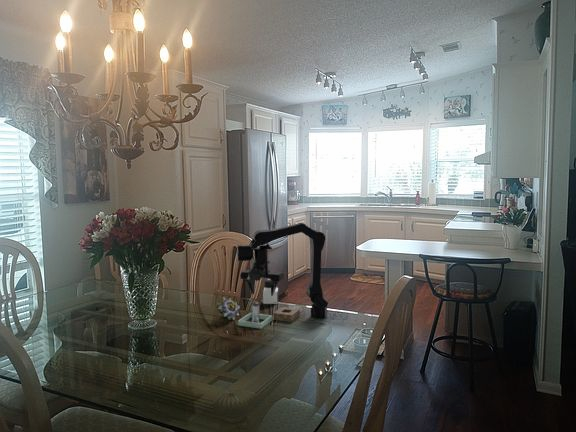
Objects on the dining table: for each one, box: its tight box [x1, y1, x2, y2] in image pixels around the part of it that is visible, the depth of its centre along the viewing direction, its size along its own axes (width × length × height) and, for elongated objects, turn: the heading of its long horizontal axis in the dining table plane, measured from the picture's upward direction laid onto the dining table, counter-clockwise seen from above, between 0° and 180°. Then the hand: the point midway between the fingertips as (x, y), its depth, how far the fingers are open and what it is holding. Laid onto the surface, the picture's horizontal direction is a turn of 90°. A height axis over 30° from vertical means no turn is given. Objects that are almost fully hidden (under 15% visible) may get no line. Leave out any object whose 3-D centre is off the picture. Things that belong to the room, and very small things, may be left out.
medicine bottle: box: [262, 278, 279, 305], centre depth 222 cm, size 7×7×12 cm
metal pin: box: [251, 301, 260, 323], centre depth 192 cm, size 3×3×9 cm
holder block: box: [272, 306, 301, 323], centre depth 199 cm, size 9×9×4 cm
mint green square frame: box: [237, 312, 273, 330], centre depth 193 cm, size 11×11×3 cm
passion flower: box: [215, 296, 241, 321], centre depth 202 cm, size 11×11×12 cm
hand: (262, 294), depth 194 cm, fingers open, 9 cm apart
